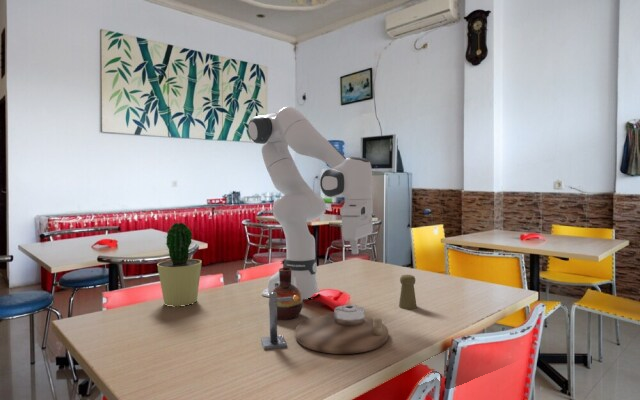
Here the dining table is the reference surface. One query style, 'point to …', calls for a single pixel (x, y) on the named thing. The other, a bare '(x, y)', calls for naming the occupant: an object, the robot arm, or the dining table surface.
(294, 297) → the post
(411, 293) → the olive pawn
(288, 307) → the vase
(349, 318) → the aluminium cover
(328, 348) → the lazy susan
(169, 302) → the potted cactus
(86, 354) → the dining table surface
